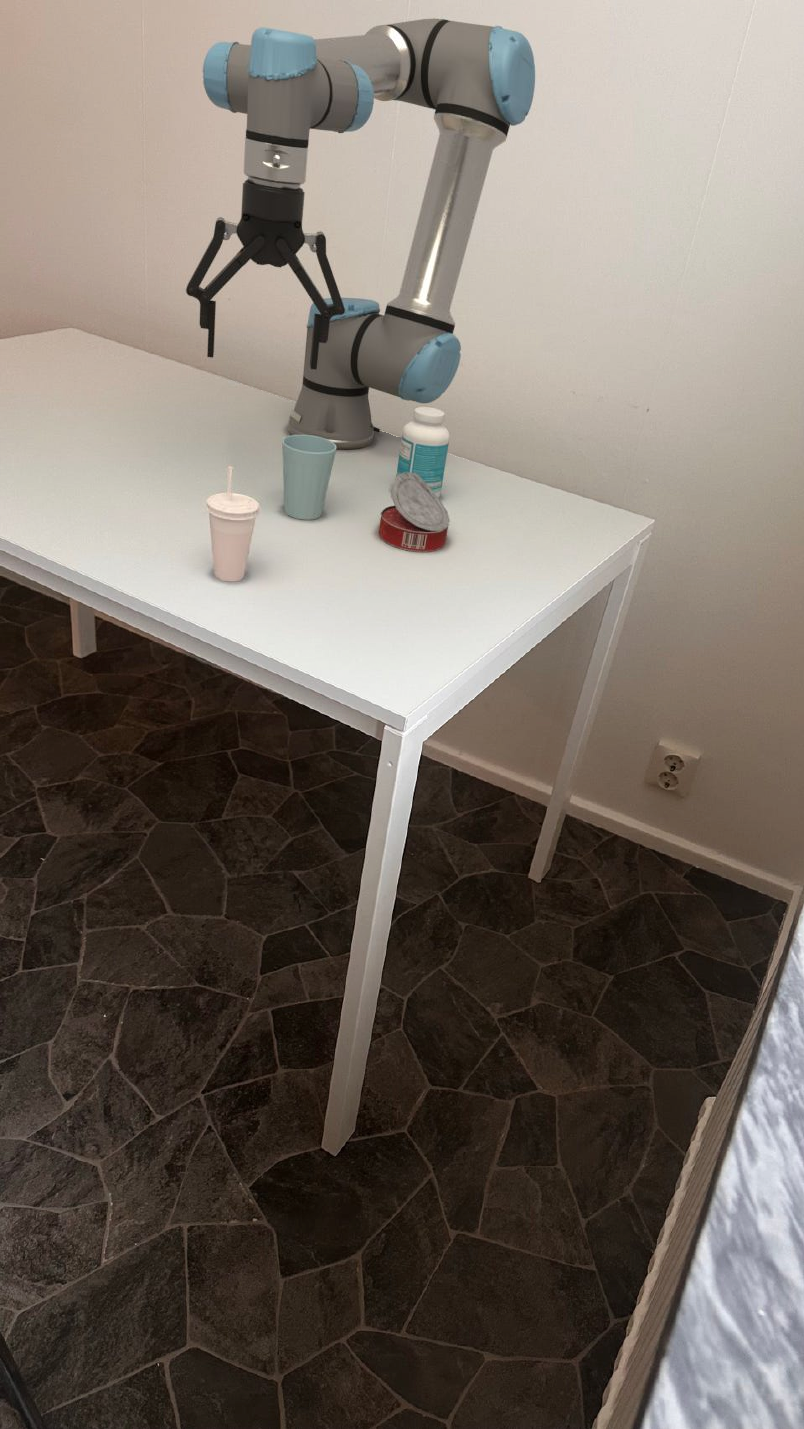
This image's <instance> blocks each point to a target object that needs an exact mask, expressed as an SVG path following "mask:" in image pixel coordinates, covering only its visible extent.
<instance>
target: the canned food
mask: <svg viewBox="0 0 804 1429" xmlns="http://www.w3.org/2000/svg"><path fill="white" fill-rule="evenodd" d="M390 487H391V488H390V491H391V493H390V497H391V499H392V502H393V504H394V505H391V506H387V507H385V508H384V509H382V510H381V512H380V519H379V525H378V526H379V527H378V532H377V534H378V536H379V538H380V539H381V541H383V542H384V543H385V544H388V545H389V546H392V547H394V548H397V549H400V550H402V551H403V550H404V551H408V552H415V553H429V552H435V551H440V550H441V549H443V547H445V545H446V540H447V535H448V530H449V526H450V520H451V519H450V517H449V513H448V510H447V509H446V507H445V505H444V504H443V502H442V500H441V499H440V497H439V498H438V497H437V496H436V494H435V493H434V492H433V490H432V489H431V488H430V487H429V486H428V485H427V484H426V483H425V481H424V480H423V479H422V478H421V477H420V476H418V475H417V474H416V473H409V472H407V471H406V472H404V473H401V474H399V475H397V477H396V476H395V478H394V480H393V482H392V484H391V486H390Z"/></svg>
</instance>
